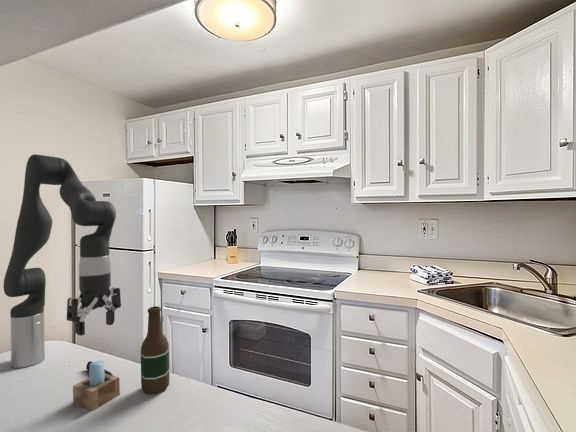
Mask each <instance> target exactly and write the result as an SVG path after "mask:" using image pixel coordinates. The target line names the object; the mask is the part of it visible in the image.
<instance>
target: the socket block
mask: <svg viewBox="0 0 576 432" xmlns="http://www.w3.org/2000/svg"><path fill="white" fill-rule="evenodd" d="M120 386H121V383H120V376H116V375H114V374H112V375H109V374H105V373H104V383H102V384H100V385H98V386H97V387H95V388H94V387H90V382H89V377H88V378H86V379H84V380H82V381H80V382H78V383H76V384H74V385H72V395H73V397H72V400H73V405H76V406H79V407H82V408H84V409H86V410H87V409H88V410H90V411H94V410H97V409H99V408H100V407H102V406H104V405H105V404H107V403H108V402H110V401H112V400H113V399H115V398H117V397H118V396H120V395H121V394H120V393H121V392H120V391H121V388H120Z"/></svg>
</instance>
